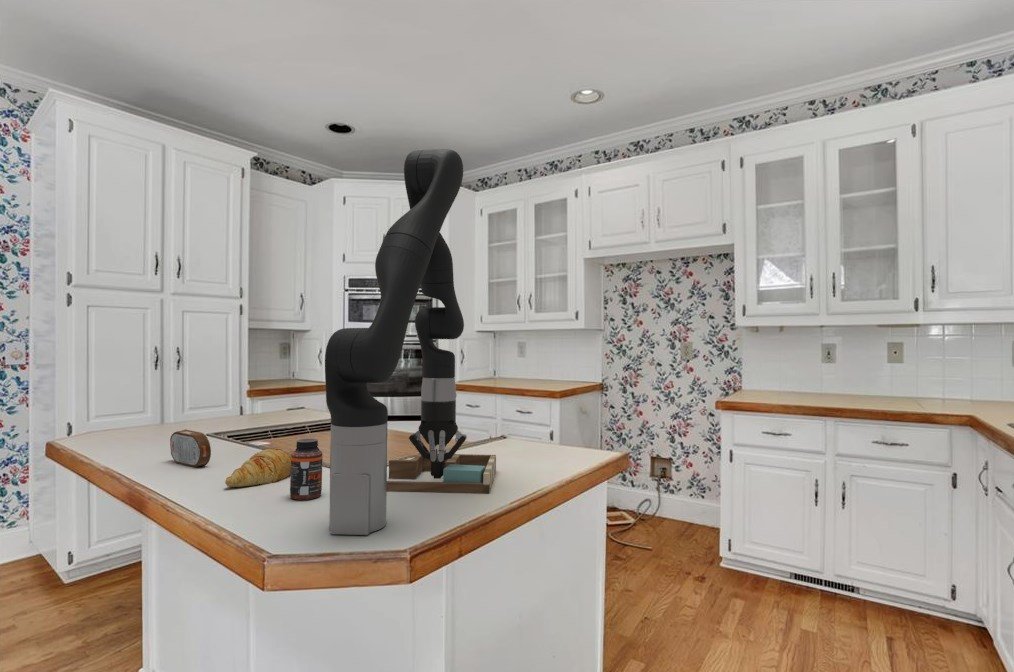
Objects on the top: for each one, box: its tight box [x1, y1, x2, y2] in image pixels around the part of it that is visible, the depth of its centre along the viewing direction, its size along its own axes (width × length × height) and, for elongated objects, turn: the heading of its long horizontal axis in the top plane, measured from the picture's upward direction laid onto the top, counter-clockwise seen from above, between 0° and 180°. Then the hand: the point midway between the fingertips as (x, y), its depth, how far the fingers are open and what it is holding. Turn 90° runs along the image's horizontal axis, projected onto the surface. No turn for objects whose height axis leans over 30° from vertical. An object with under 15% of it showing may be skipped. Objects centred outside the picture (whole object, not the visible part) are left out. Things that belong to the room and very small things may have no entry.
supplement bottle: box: [289, 438, 323, 501], centre depth 106 cm, size 6×6×11 cm
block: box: [442, 464, 485, 483], centre depth 114 cm, size 5×8×4 cm, turn 80°
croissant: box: [224, 448, 291, 488], centre depth 120 cm, size 21×10×8 cm, turn 161°
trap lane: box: [387, 452, 497, 494], centre depth 119 cm, size 19×24×4 cm
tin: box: [169, 429, 212, 468], centre depth 133 cm, size 15×3×8 cm, turn 58°
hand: (437, 477), depth 116 cm, fingers closed
